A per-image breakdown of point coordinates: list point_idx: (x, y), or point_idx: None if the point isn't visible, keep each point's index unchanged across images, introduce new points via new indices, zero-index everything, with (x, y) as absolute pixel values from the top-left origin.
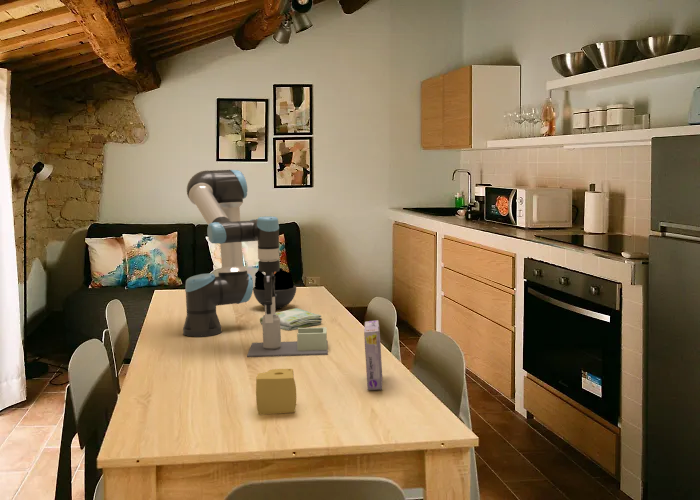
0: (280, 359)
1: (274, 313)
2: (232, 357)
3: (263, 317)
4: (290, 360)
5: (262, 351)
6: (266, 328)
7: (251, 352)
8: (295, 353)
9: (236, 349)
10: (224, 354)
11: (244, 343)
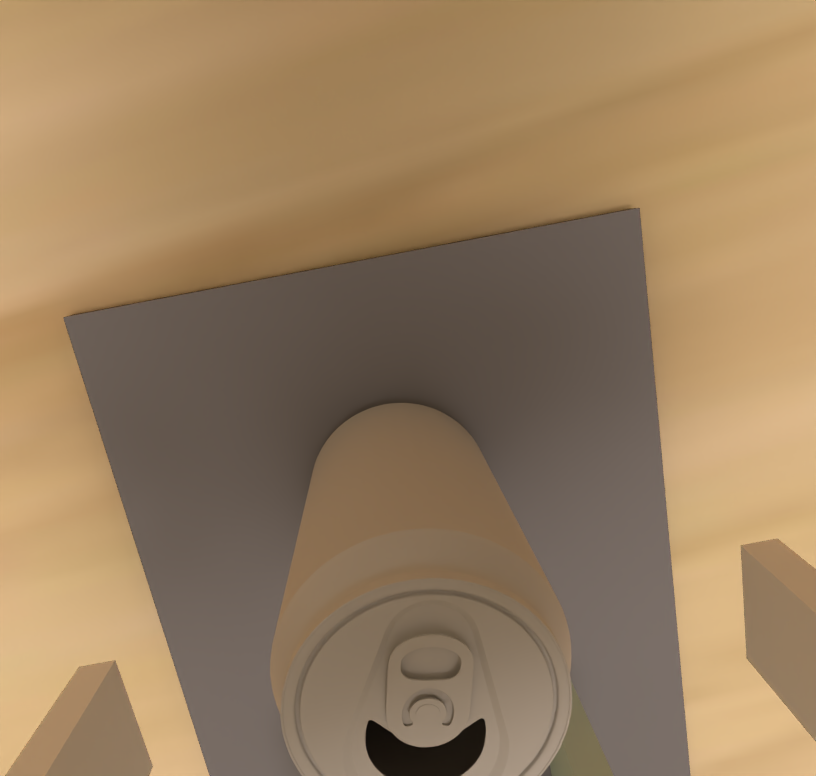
0: (51, 631)
1: (757, 660)
2: (39, 160)
3: (370, 582)
4: (33, 714)
5: (253, 424)
6: (293, 560)
7: (198, 326)
8: (213, 721)
9: (398, 94)
10: (155, 20)
11: (681, 104)
